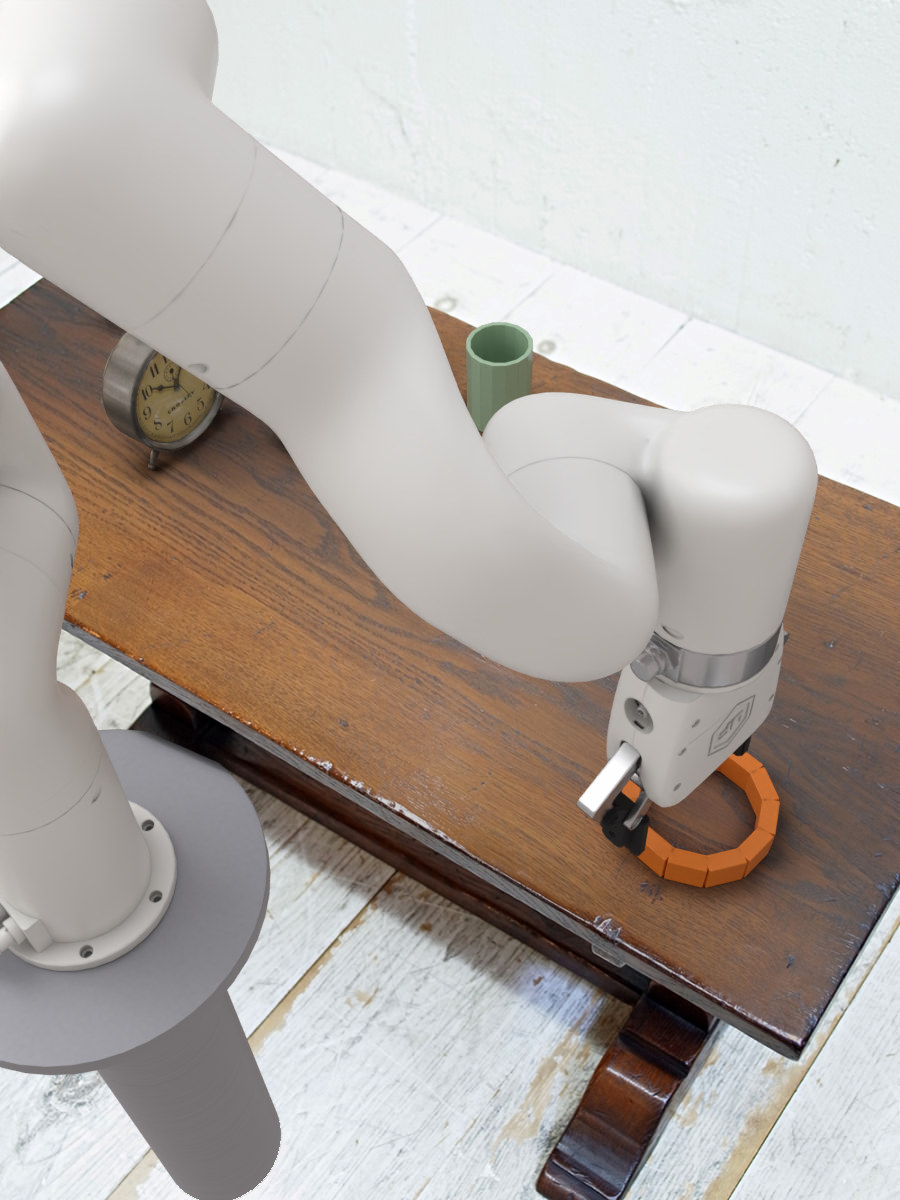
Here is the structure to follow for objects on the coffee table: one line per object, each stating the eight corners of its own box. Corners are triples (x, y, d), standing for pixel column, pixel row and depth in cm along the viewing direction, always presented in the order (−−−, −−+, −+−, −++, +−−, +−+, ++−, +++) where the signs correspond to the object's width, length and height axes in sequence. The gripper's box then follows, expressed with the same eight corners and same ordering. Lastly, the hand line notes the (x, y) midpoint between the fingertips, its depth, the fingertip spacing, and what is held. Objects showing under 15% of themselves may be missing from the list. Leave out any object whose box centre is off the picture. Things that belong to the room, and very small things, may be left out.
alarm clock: (154, 486, 110) (111, 336, 97) (110, 459, 112) (62, 310, 99) (242, 414, 115) (212, 263, 102) (199, 390, 117) (163, 239, 104)
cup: (499, 445, 112) (499, 375, 106) (454, 413, 114) (452, 343, 108) (543, 413, 114) (546, 343, 108) (498, 383, 117) (499, 313, 111)
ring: (706, 916, 84) (711, 900, 82) (588, 816, 89) (590, 798, 87) (803, 817, 88) (810, 800, 87) (685, 727, 93) (689, 708, 91)
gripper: (651, 765, 61) (626, 921, 74) (866, 565, 68) (809, 740, 81) (536, 674, 64) (532, 838, 78) (752, 493, 71) (715, 672, 85)
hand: (674, 788), depth 79 cm, fingers open, 9 cm apart
